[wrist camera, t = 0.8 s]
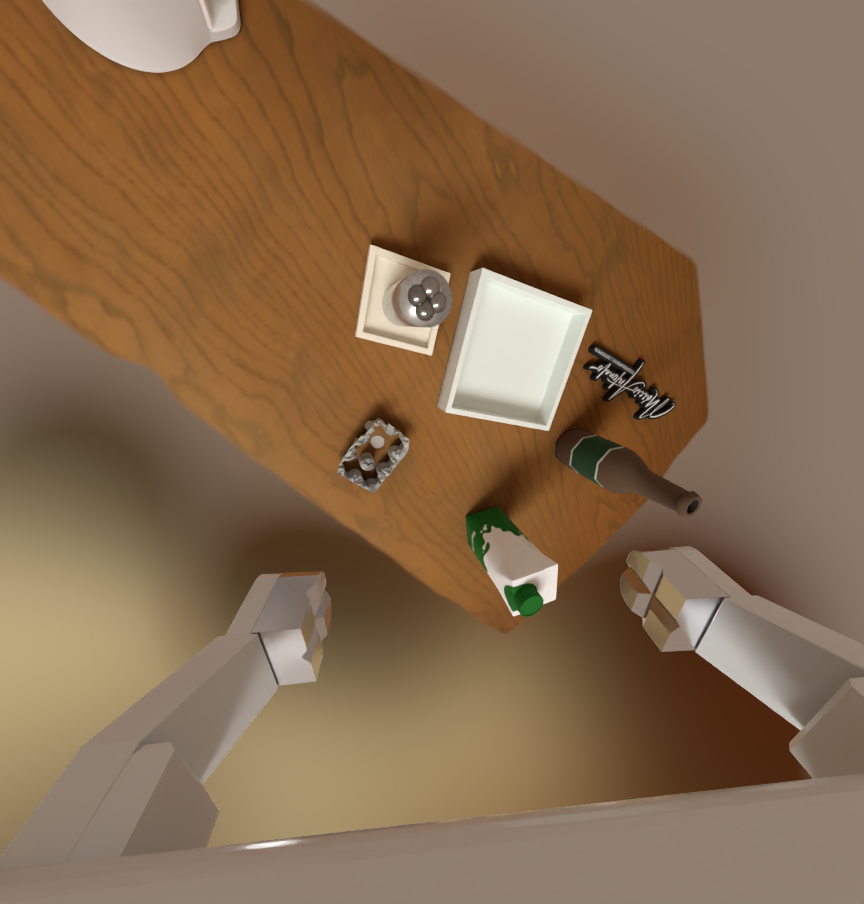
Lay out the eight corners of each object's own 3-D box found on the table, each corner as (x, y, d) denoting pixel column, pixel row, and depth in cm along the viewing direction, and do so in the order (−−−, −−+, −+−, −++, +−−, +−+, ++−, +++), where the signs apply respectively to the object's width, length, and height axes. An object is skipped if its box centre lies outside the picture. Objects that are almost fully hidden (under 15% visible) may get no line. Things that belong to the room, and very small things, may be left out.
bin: (470, 272, 46) (482, 267, 42) (574, 311, 53) (592, 310, 49) (436, 406, 51) (445, 412, 48) (534, 424, 59) (548, 430, 55)
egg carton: (373, 410, 49) (377, 417, 45) (409, 437, 52) (416, 445, 49) (332, 463, 50) (333, 474, 46) (370, 486, 53) (374, 498, 50)
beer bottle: (563, 423, 61) (692, 476, 40) (591, 432, 64) (725, 485, 43) (547, 459, 63) (661, 528, 42) (575, 466, 66) (694, 534, 45)
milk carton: (460, 513, 61) (517, 589, 43) (502, 500, 63) (572, 569, 46) (464, 548, 65) (517, 632, 47) (503, 535, 67) (568, 611, 49)
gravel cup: (386, 277, 42) (410, 259, 30) (424, 289, 44) (461, 278, 32) (378, 320, 43) (398, 319, 32) (416, 331, 45) (447, 333, 34)
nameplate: (686, 387, 66) (660, 430, 69) (679, 386, 68) (653, 428, 70) (602, 331, 55) (574, 386, 57) (595, 331, 56) (568, 384, 58)
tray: (368, 247, 41) (370, 244, 39) (445, 275, 45) (450, 273, 43) (354, 336, 44) (355, 336, 42) (427, 354, 48) (431, 355, 46)
